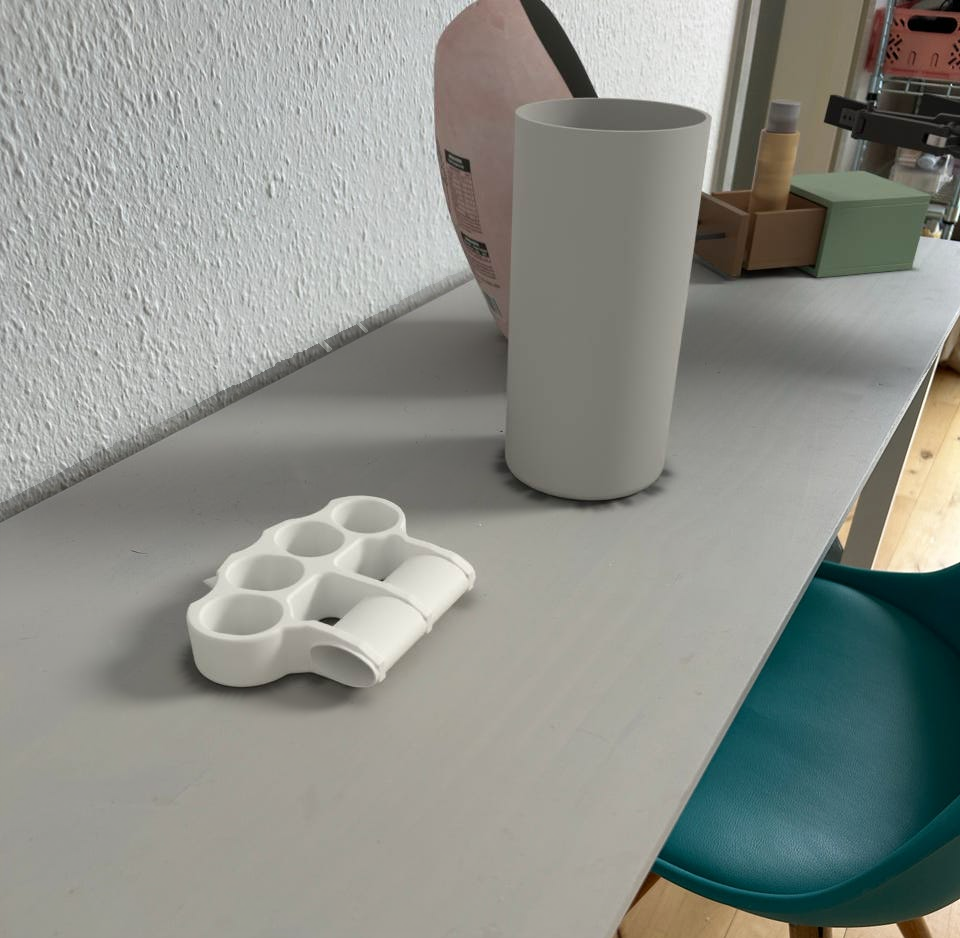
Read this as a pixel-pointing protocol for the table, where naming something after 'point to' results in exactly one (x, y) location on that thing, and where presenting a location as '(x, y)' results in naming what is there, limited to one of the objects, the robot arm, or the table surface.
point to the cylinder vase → (599, 289)
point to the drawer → (757, 232)
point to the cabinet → (863, 222)
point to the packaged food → (494, 122)
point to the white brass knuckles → (324, 598)
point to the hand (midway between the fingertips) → (876, 107)
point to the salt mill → (775, 160)
